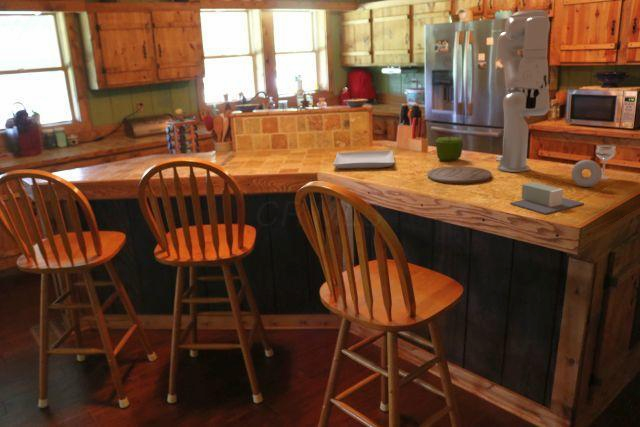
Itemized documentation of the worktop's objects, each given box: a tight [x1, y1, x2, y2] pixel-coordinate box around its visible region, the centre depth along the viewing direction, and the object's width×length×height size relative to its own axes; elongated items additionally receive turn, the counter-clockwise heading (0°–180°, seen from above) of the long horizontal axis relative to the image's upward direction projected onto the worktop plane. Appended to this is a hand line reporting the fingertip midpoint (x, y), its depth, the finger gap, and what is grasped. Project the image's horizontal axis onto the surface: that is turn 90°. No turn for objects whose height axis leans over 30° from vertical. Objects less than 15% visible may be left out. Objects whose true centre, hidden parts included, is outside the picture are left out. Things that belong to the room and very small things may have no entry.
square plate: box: [333, 150, 396, 170], centre depth 246 cm, size 27×27×4 cm
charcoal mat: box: [509, 197, 584, 215], centre depth 174 cm, size 14×18×1 cm
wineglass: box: [595, 144, 617, 180], centre depth 202 cm, size 7×7×12 cm
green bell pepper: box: [435, 136, 464, 162], centre depth 244 cm, size 12×12×11 cm
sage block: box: [521, 181, 564, 207], centre depth 175 cm, size 5×5×12 cm
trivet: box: [427, 165, 493, 186], centre depth 214 cm, size 25×25×2 cm
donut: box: [571, 159, 603, 188], centre depth 191 cm, size 10×4×10 cm, turn 48°
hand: (530, 108), depth 189 cm, fingers closed
